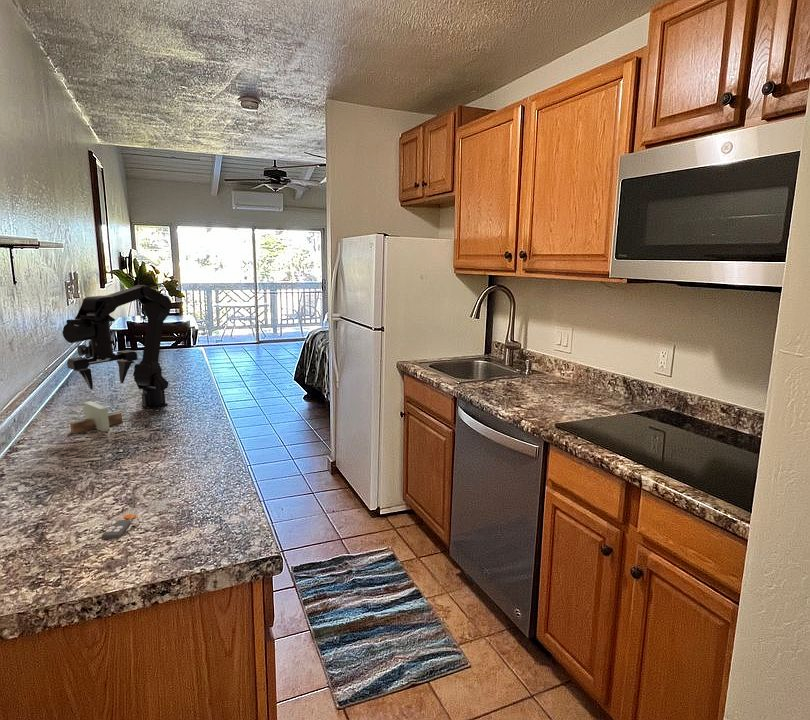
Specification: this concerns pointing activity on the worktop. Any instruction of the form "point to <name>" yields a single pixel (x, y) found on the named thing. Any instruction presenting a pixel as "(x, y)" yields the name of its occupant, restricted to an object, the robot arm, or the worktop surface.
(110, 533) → the key chain
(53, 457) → the worktop surface
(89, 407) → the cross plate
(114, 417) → the walnut rail
